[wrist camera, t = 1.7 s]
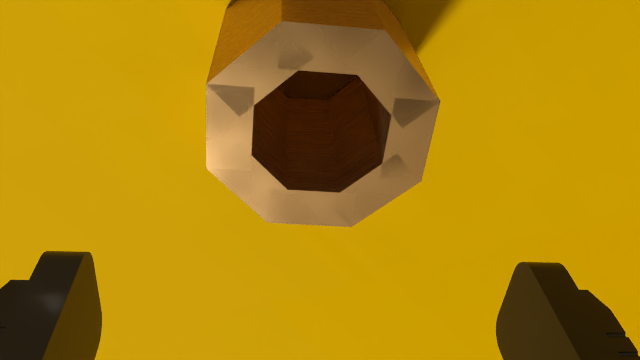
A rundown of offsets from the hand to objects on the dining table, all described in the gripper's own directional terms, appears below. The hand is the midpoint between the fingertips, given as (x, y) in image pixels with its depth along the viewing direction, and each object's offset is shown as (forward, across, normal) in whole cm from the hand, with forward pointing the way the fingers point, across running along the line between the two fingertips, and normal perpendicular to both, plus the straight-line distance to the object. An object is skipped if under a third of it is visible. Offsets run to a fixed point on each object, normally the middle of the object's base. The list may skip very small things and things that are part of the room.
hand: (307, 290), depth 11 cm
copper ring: (+11, -1, 0) cm, 11 cm away
